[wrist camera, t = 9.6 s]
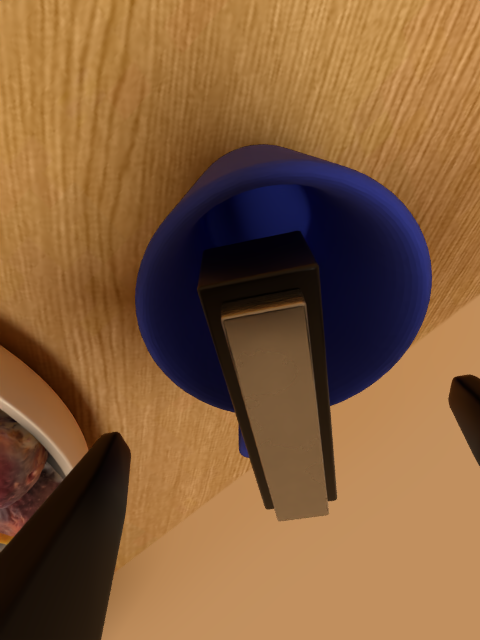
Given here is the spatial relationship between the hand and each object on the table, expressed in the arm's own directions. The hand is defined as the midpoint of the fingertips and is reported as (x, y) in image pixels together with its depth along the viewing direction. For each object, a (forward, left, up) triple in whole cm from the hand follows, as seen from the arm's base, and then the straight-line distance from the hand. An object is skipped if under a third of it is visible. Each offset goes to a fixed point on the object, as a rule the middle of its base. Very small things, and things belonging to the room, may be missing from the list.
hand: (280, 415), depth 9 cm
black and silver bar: (0, 0, -2) cm, 2 cm away
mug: (0, 0, -12) cm, 12 cm away
